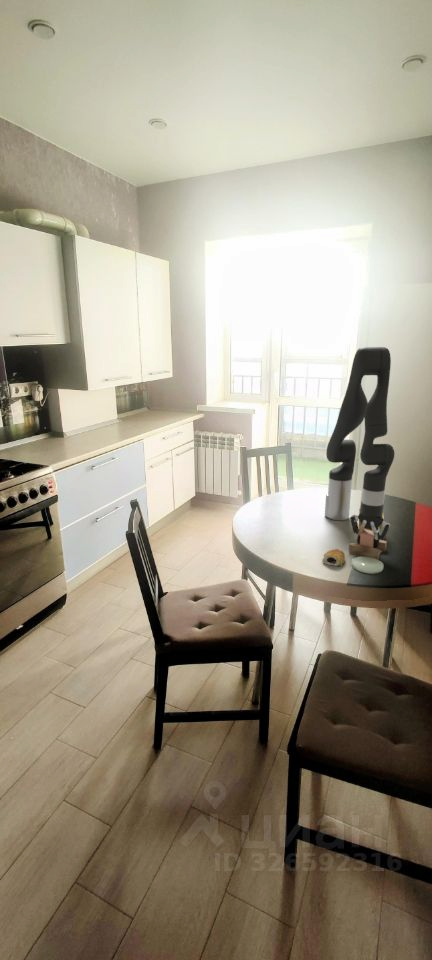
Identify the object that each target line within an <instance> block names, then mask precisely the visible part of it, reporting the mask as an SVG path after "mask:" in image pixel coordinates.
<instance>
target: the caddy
mask: <svg viewBox="0 0 432 960" xmlns="http://www.w3.org/2000/svg"><path fill="white" fill-rule="evenodd" d="M356 537H357V538H356V543H355V542H350V543H349V546H348V553H349V554H352V555H355V556H358V557H362V556H364V557H372V558H375V559H377V560H379V559H380V556H381V555H382V553H383V552H386V551H387V546H388V541H387V540H384V539H379V546H378V547H377V548H376V549H375V548H371V547H367V546H364V545H360V544H359V543H358V542H357V541H358V536H356Z"/></svg>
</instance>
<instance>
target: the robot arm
mask: <svg viewBox="0 0 432 960" xmlns="http://www.w3.org/2000/svg"><path fill="white" fill-rule="evenodd" d="M391 358H392V357H391V352H390V350H389V349H388V348H387V347H386V346H363V347H359V348H358V349H357V350H356V352H355V355H354V357H353V361H352V365H351V370H350V375H349V380H348V383H347V387H346V389H345V390H346V391H345V394H344V397H343V400H342V403H341V406H340V409H339V412H338V416H337V420H336V424H335V426H334V428H333V431H332V433H331V436H330V438H329V441H328V444H327V446H326V451H325V452H326V459H327V461H328V462H330V463H339V464H340V463H341V464H340V465H338V466H336V467H334V468H332V469H331V470H329V473H328V487H327V489H328V491H327V494H326V495H325V504H324V505H325V507H324V517H327V518H328V519H330V520H334V521H346V520H348V519H349V518H350V523H351V528H352V529H351V530H352V533H354V534H355V533H356V534H357V537H358V541H357V540H356V543H357V542H358V543H359V544H360V535H361V533H362V532H363V531H364V530H365V528H366V529H371V530H372V531H373V534H374V538H375V539H374V544H373V548H375V549H376V548H377V547H378V546H379V540H384V539H385V537H386V536H387V534H388V533H389V530H390V528H391V526H392V523H391V522H387V521H385V519H384V520H383V517H382V516H383V514H384V506H385V497H386V493H385V491H386V481H387V477H388V474H389V471H390V469H391V467H392V465H393V462H394V461H395V460H394V459H395V450H394V447H393V446H392V445H391V444H389V443H374V441H375V439H377V438H381V437H384V436H386V435H387V434H388V416H387V415H388V414H387V411H388V410H387V406H388V394H389V385H390V377H391V376H390V375H391V365H392V363H391V362H392V360H391ZM365 376H376V377H377V381H376V387H375V389H374V392H373V393H372V395H371V397H370V399H369V400H368V399H367V396H366V394H365V392H364V389H363V386H362V381H363V377H365ZM363 421H364V436H363V442H362V446H361V449H360V455H359V456H360V461H361V462H362V464H364V465H365V466H376V468H374V469H370V470H367V471H366V472H365V473H364V475H363V482H362V483H363V484H362V491H361V498H360V507H359V509H360V514H359V513H358V515H356V514H353V515H351V516H350V511H351V510H350V506H351V495H352V484H353V483H352V482H353V474H354V469H355V462H356V456H357V455H356V454H357V446H356V443H355V441H354V440H353V439H346V438H347V436H348V435H350V434H351V433H353V431H354V430H356V429H357V428H359V426H360V425H361V424H362V423H363ZM359 521H360V522H361V524H362V525H361V527H360V529H359V523H358V522H359ZM381 524H382V528H383V530H382V532H381V531H380V532H379V526H380V525H381Z"/></svg>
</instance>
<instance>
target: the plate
mask: <svg viewBox="0 0 432 960" xmlns="http://www.w3.org/2000/svg"><path fill="white" fill-rule="evenodd" d="M351 567H352V568H353V569H355V571H358V572H359V573H364V574H370V575H372V574H373V575H375V574H379V573H381V572H383V571H384V563H383V562H382V561H380V560H379V559H378V560H377V559H375V558H372V557H364V556H357V557H356V556H355V557H354V558H352V560H351Z"/></svg>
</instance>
